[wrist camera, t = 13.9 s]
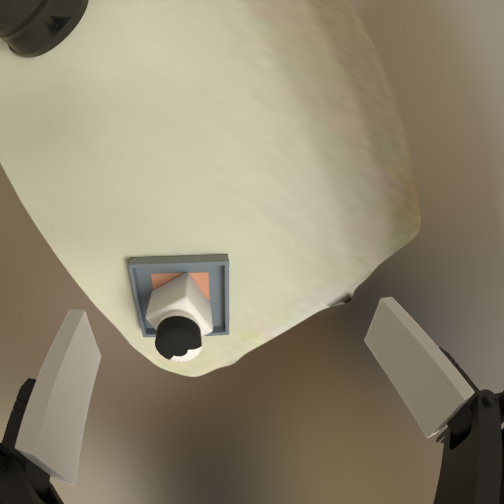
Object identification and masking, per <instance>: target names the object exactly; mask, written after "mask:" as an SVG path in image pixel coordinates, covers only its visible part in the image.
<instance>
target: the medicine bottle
mask: <svg viewBox="0 0 504 504" xmlns="http://www.w3.org/2000/svg"><path fill="white" fill-rule="evenodd" d="M146 319H147V320H148V322H149V323H150V324H151V325H152V326H153V327H154V328H155V329H156V330H157V333H156V339H155V346H156V349H157V351H158V352H159V353H160V354H161V355H162V356H163V357H165V358H166V359H169V360H171V361H176V362H185V361H189V360H191V359H193V358H195V357H196V356H197V355H198V354H199V353H200V351H201V347H202V345H201V337H202V336H204V335H206V334H208V333H210V332H212V331H213V324H212V313H211V303H210V302H209V301H208V299H207V298H206V296H205V295H204V294H203V292H202V291H201V290H200V288H199V287H198V285H197V284H196V283H195V281H194V280H193V278H192V277H191V275H190V274H189V273H188V272H186V273H184V274H182V275H181V276H179V277H177V278H175V279H173V280H171V281H170V282H168V283H166V284H164V285H162V286H160V287H159V288H157V289H155V290H153V291H152V293H151V297H150V301H149V305H148V309H147V314H146Z"/></svg>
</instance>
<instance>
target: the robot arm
mask: <svg viewBox="0 0 504 504" xmlns="http://www.w3.org/2000/svg"><path fill="white" fill-rule="evenodd" d="M87 4H88V0H0V37H1V38H2V39H3V40H4V41H5V42H6V43H7V44H8V46H9V48H10V50H11V51H12V52H13V53H15V54H17V55H20V56H23V57H35V56H39V55H41V54H44V53H46V52H47V51H49V50H51V49H52V48H54V47H55V46H56V45H58V44H59V43H60V42H61V41H62V40H64V39H65V38H66V37H67V36H68V35H69V34H70V32H71V31H72V30H73V29H74V28H75V26H76V25H77V24H78V22H79V21H80V19H81V18H82V16H83V14H84V12H85V10H86V7H87ZM364 341H365V343H366V345H367V346H368V347H369V349H370V350H371V352H372V353H373V355H374V356H375V358H376V359H377V361H378V362H379V364H380V365H381V367H382V368H383V370H384V371H385V373H386V374H387V376H388V377H389V379H390V380H391V382H392V383H393V385H394V386H395V388H396V389H397V391H398V392H399V394H400V396H401V397H402V399H403V400H404V402H405V403H406V405H407V407H408V408H409V410H410V411H411V413H412V415H413V416H414V418H415V419H416V421H417V422H418V424H419V426H420V427H421V429H422V431H423V432H424V434H425V436H426V437H427V438H429V437H430V436H432V435H434V434H435V433H437V432H439V431H440V430H441V429H442V428H443V427H444V426H445V425H446V424H447V425H448V428H447V429H446V430H444V432H442V433H441V434H440V435H439V437H438V438H437V440H436V442H439V441H440V440H441V439H442V438H443V437H444V436H445V438H443V440H442V441H441V443H444V449H443V456H442V463H441V470H440V476H439V481H438V486H437V491H436V495H435V500H434V504H504V428H503V429H502V430H501V424H502V423H503V422H504V391H503V392H501V393H497V394H494V393H493V392H491V391H489V390H482V391H479V389H478V388H477V387H476V386H475V385H474V384H473V382H472V381H471V380H470V378H469V377H468V376H467V375H466V374H465V372H464V371H463V370H462V369H461V368H460V366H459V365H458V364H457V363H456V362H455V360H454V359H453V358H452V357H451V356H450V354H449V353H447V352H446V351H445V350H443V349H442V348H440V347H439V348H438V346H437V345H436V344H435V343H434V342H433V341H432V340H431V338H430V337H429V336H428V335H427V334H426V333H425V332H424V331H423V329H422V328H421V327H420V326H419V325H418V324H417V323H416V322H415V321H414V320H413V319H412V317H410V315H409V314H408V313H407V312H406V311H405V310H404V309H403V308H402V307H401V306H400V305H399V304H398V303H397V302H396V300H394V298H393V297H387V298H381V299H380V301H379V304H378V307H377V309H376V312H375V315H374V317H373V320H372V323H371V325H370V327H369V330H368V332H367V335H366V337H365V339H364ZM100 359H101V354H100V352H99V349H98V347H97V344H96V341H95V339H94V336H93V333H92V330H91V327H90V324H89V321H88V318H87V315H86V312H85V310H77V309H70V310H69V311H68V313H67V315H66V317H65V319H64V321H63V323H62V325H61V327H60V329H59V331H58V333H57V335H56V337H55V339H54V341H53V343H52V345H51V348H50V350H49V352H48V354H47V356H46V359H45V361H44V363H43V365H42V368H41V370H40V373H39V375H38V378H37V380H35V379H30V378H29V379H28V380H27V381H26V382H25V383H24V384H23V385H22V386H21V388H20V390H19V393H18V396H17V401H15V403H14V407H13V410H12V412H11V415H10V418H9V421H8V424H7V427H6V431H5V434H4V437H3V440H2V443H0V504H64V503H63V501H62V500H61V498H60V497H59V495H58V494H57V492H56V490H55V488H54V487H53V485H52V484H51V483H50V481H49V479H50V476H51V477H53V478H54V479H56V480H58V481H60V482H63V483H66V484H70V485H74V486H76V482H77V473H78V464H79V457H80V450H81V444H82V437H83V432H84V426H85V421H86V416H87V411H88V407H89V402H90V398H91V394H92V389H93V386H94V382H95V378H96V374H97V370H98V367H99V362H100Z"/></svg>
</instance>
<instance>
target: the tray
mask: <svg viewBox="0 0 504 504" xmlns="http://www.w3.org/2000/svg"><path fill="white" fill-rule="evenodd" d="M128 268H129V274H130V279H131V284H132V290H133V295H134V299H135V304H136V309H137V313H138V318H139V322H140V326H141V330H142V334H143V337H156V333H157V330H156V329H155V328H154V327H153V326H152V325H151V324H150V323H149V322H148V320H147V319H146V314H147V309H148V305H149V301H150V297H151V293H152V291H153V290H155V289H157V288H159V287H160V286H162V285H164V284H166V283H168V282H170V281H171V280H173V279H175V278H177V277H179V276H181V275H182V274H184V273H186V272H188V273H189V274H190V275H191V277H192V278H193V280H194V281H195V283H196V284H197V285H198V287H199V288H200V290H201V291H202V292H203V294H204V295H205V296H206V298H207V299H208V301H209V302H210V303H211V313H212V324H213V331H212V332H210V333H208V334H206V335H204V336H213V335H229V259H228V254H219V255H188V256H158V257H131V260H130V262H129V264H128Z"/></svg>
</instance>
